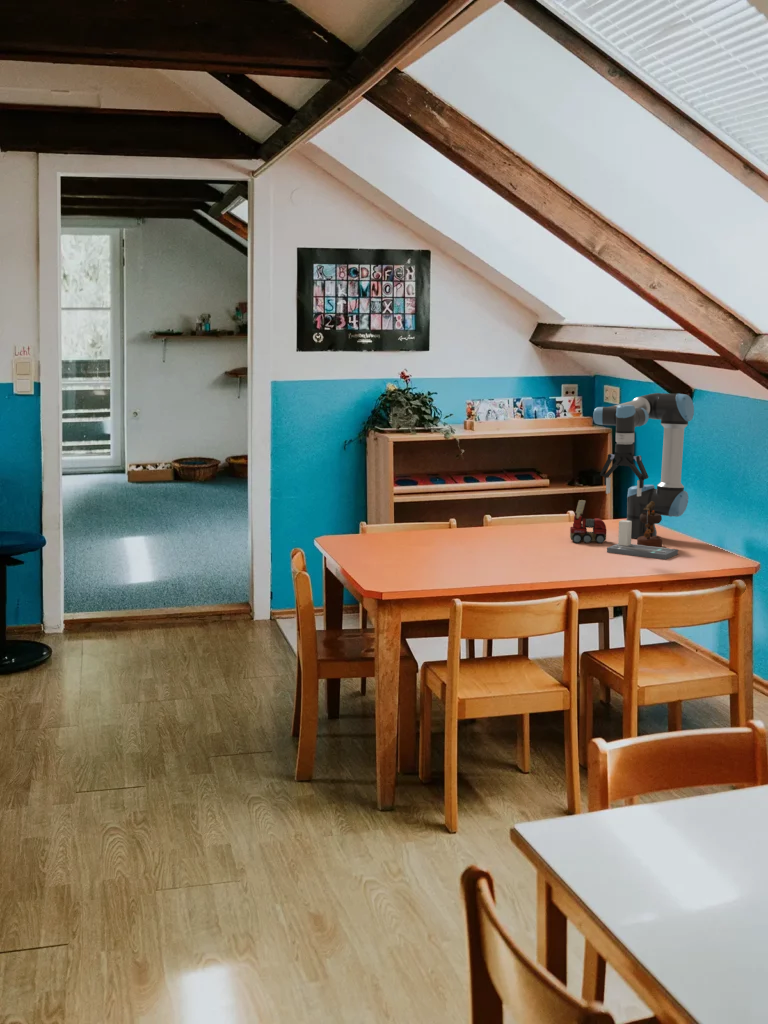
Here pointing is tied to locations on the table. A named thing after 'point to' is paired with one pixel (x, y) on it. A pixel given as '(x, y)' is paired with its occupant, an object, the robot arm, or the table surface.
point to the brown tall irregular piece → (650, 527)
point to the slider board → (643, 551)
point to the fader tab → (625, 533)
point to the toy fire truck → (580, 527)
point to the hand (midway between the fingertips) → (623, 494)
